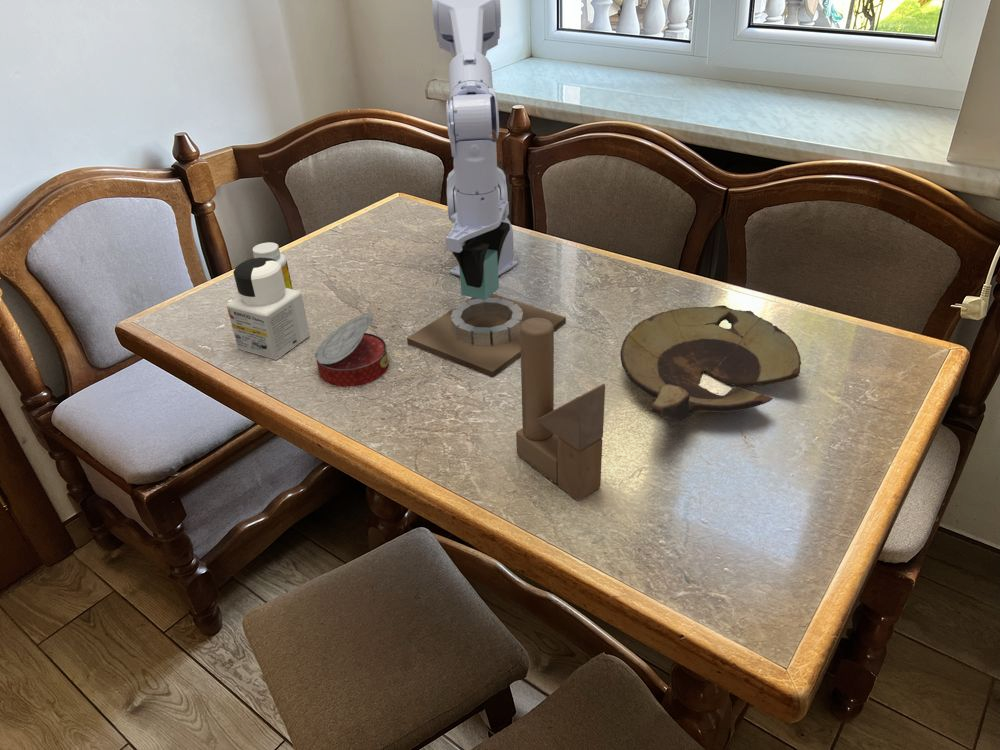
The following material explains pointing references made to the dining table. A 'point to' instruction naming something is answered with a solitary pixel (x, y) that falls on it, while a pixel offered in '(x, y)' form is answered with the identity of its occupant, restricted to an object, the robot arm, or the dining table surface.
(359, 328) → the canned food
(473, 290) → the teal peg
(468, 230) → the robot arm
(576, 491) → the wooden block
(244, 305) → the container
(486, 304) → the steel collar
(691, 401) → the broken plate
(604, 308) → the dining table surface
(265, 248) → the supplement bottle
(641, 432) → the dining table surface
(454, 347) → the walnut board
